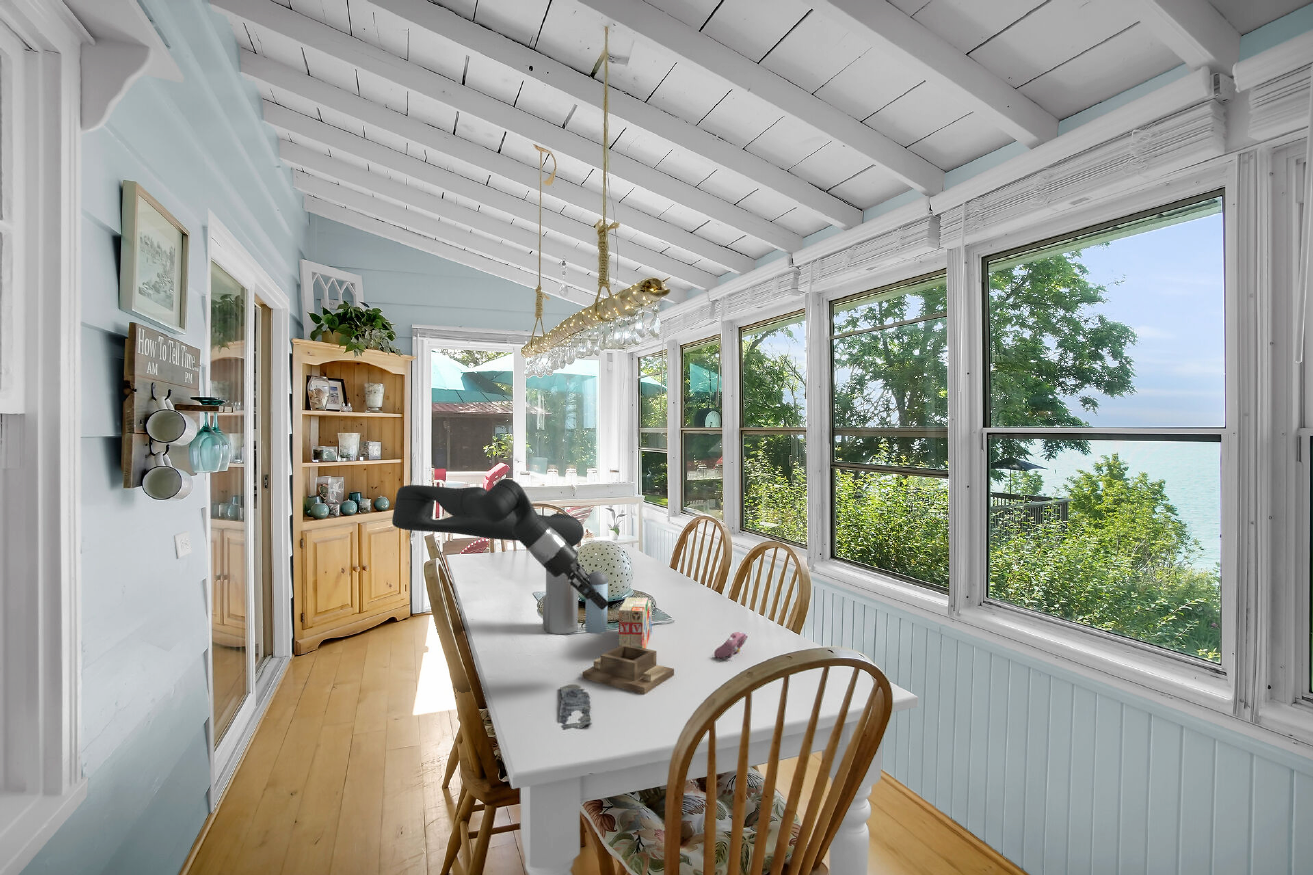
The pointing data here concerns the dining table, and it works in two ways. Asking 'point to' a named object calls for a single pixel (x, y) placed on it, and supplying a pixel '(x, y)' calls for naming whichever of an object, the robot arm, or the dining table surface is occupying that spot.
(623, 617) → the stack of blocks
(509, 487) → the robot arm
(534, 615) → the dining table surface
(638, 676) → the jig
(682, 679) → the dining table surface
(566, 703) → the driftwood
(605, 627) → the ball on cylinder
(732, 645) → the video game controller
